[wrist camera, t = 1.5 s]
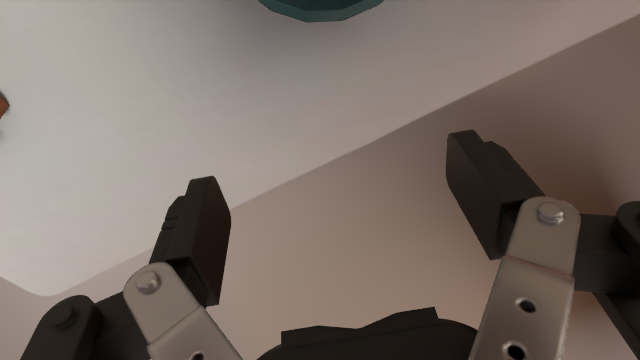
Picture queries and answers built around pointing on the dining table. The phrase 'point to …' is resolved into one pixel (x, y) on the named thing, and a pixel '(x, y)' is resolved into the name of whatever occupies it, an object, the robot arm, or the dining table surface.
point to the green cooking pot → (320, 8)
